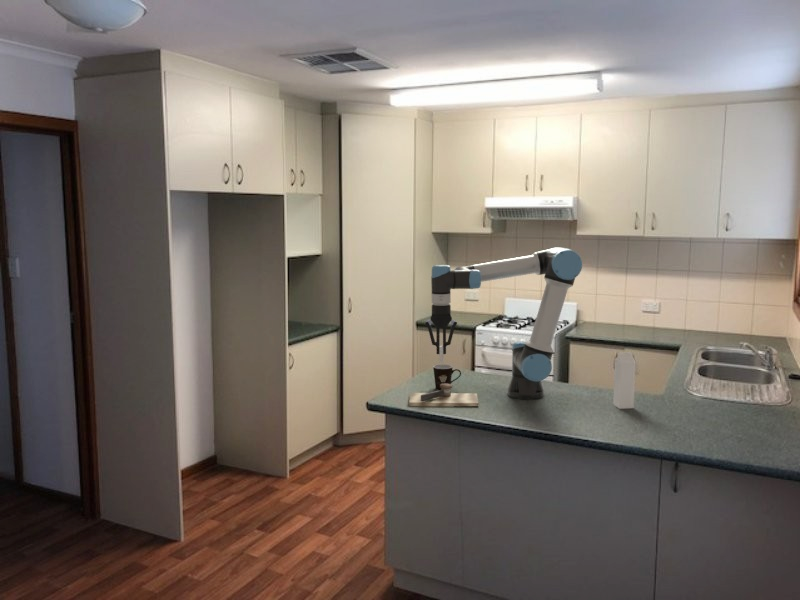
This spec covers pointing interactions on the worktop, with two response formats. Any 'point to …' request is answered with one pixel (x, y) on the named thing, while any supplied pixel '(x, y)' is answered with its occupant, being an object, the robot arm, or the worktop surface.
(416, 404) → the wooden board
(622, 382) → the milk
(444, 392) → the dark grey square rod
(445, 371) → the coffee mug
